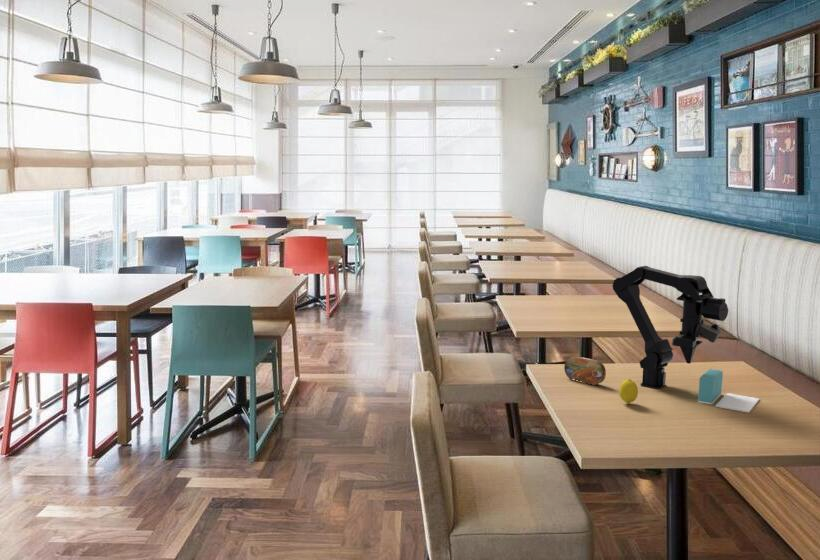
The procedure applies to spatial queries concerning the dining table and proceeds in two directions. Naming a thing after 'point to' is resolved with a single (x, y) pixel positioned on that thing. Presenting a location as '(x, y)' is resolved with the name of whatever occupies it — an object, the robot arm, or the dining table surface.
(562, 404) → the dining table surface
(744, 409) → the mat
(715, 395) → the teal block
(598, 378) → the tin
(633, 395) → the lemon
